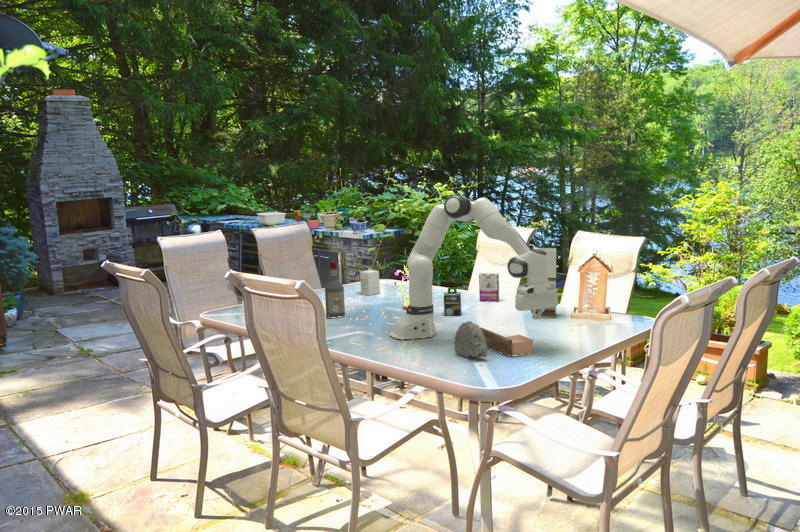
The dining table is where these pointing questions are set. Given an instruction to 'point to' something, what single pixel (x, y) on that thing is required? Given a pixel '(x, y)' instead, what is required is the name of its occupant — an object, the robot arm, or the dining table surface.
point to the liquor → (334, 294)
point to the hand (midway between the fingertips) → (536, 318)
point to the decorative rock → (470, 341)
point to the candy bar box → (489, 286)
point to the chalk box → (452, 303)
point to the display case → (550, 280)
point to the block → (521, 345)
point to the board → (498, 342)
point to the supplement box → (370, 282)
